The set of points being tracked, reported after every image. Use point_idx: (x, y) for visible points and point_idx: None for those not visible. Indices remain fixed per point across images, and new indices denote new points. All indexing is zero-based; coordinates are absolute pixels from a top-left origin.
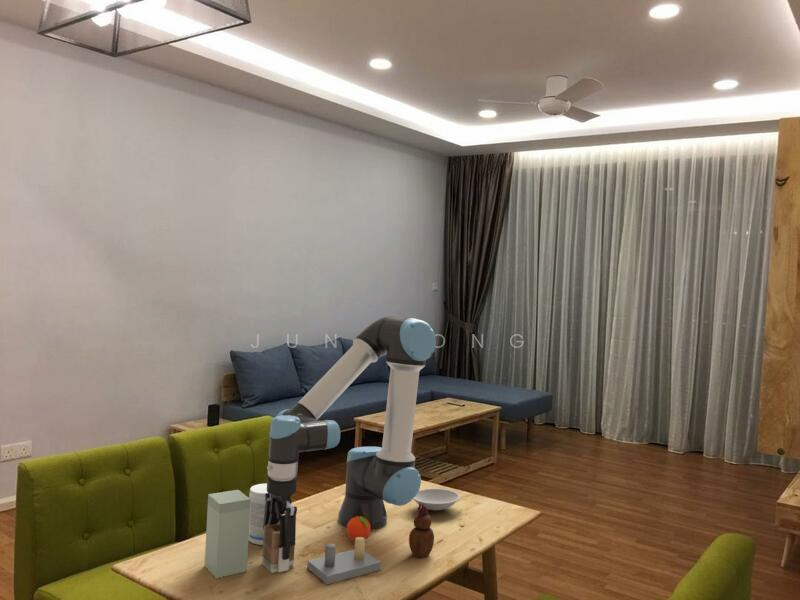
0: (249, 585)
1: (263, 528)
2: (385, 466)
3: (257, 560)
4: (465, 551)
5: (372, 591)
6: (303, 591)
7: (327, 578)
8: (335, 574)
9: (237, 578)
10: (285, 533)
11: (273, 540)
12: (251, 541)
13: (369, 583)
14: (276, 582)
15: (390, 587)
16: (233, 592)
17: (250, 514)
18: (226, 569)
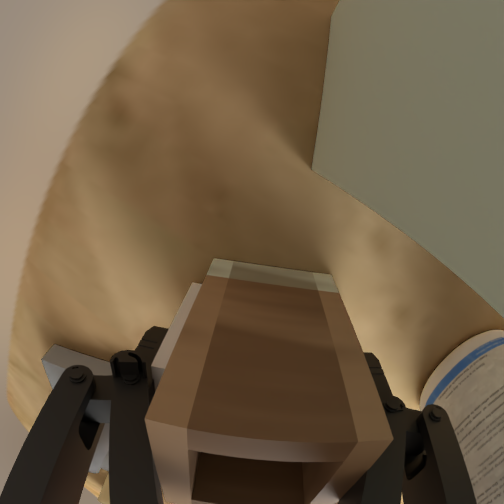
0: (164, 103)
1: (435, 409)
2: None
3: (374, 277)
4: None
5: (14, 378)
6: (35, 264)
7: (45, 355)
8: (50, 380)
9: (268, 88)
10: (51, 439)
11: (168, 371)
12: (487, 332)
13: (43, 401)
14: (123, 223)
15: (25, 406)
16: (154, 21)
17: None
18: (334, 51)
